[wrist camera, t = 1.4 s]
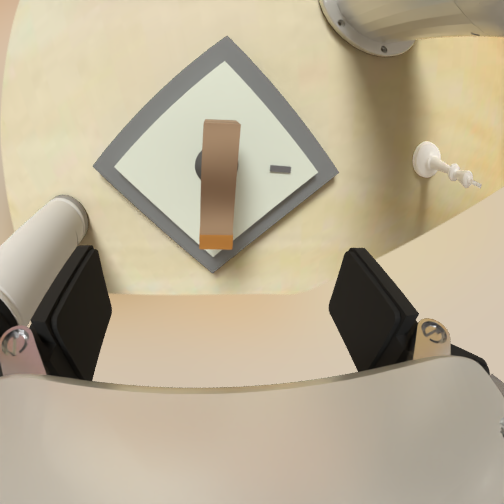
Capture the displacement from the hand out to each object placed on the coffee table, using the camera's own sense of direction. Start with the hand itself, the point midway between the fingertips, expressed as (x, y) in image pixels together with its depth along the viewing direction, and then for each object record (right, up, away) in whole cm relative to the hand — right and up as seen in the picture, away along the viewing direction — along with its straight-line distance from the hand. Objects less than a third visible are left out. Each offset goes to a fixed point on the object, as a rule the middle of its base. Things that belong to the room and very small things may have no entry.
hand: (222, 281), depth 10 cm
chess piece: (+24, +13, +19) cm, 33 cm away
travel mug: (-21, +5, +17) cm, 27 cm away
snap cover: (-3, +10, +17) cm, 20 cm away
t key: (-2, +9, +14) cm, 17 cm away
